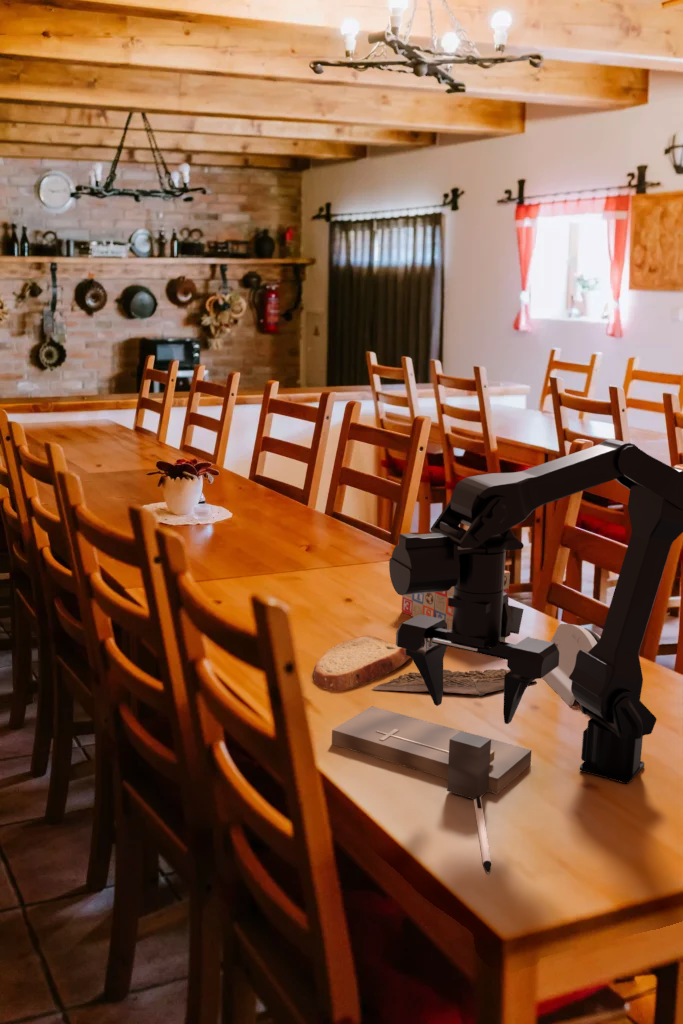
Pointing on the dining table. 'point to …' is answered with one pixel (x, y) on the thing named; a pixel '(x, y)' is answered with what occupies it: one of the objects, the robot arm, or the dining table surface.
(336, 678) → the bread slice
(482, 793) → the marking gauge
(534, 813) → the dining table surface
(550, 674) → the beige ledged stand
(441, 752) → the gray rectangular board
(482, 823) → the pen
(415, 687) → the wooden fragment
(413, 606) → the stack of blocks
